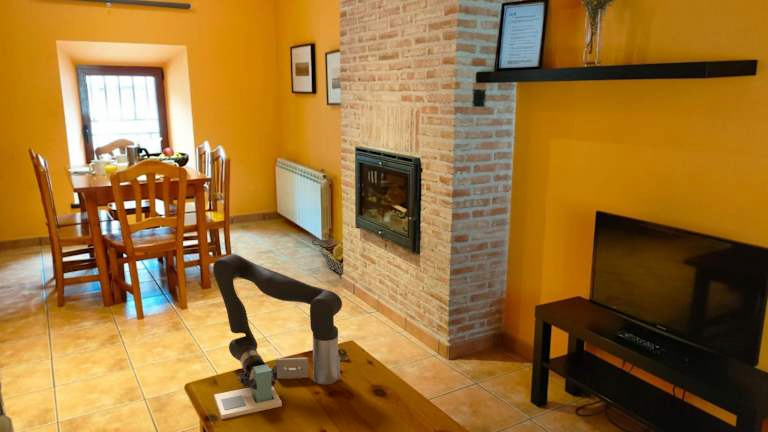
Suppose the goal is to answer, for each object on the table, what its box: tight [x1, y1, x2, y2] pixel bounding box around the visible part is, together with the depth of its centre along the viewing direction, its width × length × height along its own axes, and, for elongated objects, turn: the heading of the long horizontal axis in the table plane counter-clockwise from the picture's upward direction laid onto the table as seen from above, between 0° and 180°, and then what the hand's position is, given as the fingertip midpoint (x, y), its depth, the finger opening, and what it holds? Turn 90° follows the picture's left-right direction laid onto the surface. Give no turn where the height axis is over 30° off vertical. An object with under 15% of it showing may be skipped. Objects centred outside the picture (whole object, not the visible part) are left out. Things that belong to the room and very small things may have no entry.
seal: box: [338, 347, 349, 363], centre depth 233 cm, size 9×5×15 cm
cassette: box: [275, 357, 309, 380], centre depth 215 cm, size 12×2×8 cm, turn 97°
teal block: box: [253, 363, 273, 403], centre depth 198 cm, size 5×5×12 cm
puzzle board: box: [213, 386, 283, 420], centre depth 198 cm, size 20×14×2 cm
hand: (264, 385), depth 195 cm, fingers open, 5 cm apart
